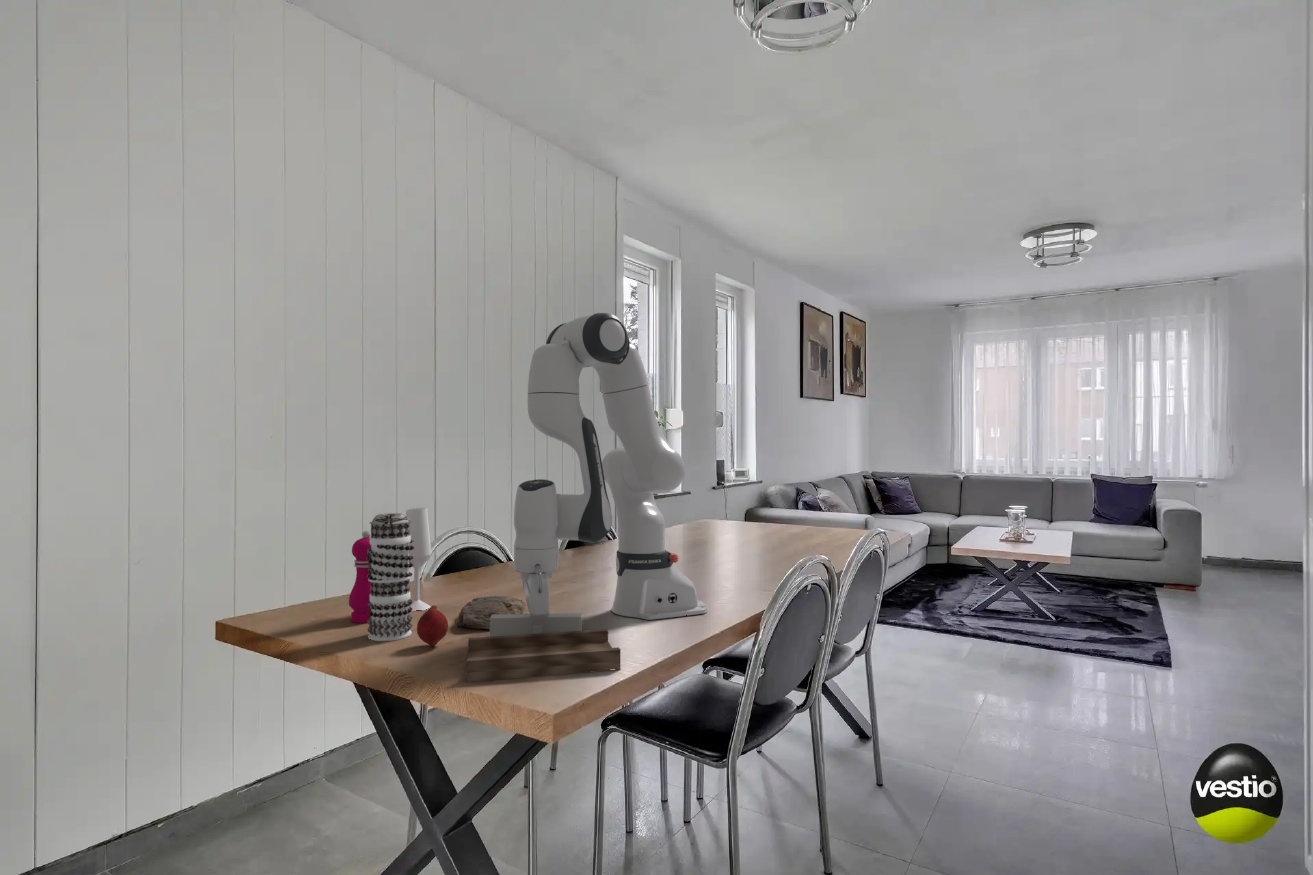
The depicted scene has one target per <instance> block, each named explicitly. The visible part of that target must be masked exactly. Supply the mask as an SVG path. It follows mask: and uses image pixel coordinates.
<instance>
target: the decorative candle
mask: <svg viewBox="0 0 1313 875" xmlns="http://www.w3.org/2000/svg"><path fill="white" fill-rule="evenodd" d="M410 522H411V521H410V520H408V519H407V517H406V514H403V513H399V512H398V513H396V512H395V513H393V512H391V513H379V514H377V515H375V516H374V518H373V519H372V520H371V521H370V522H369V524H370V533H371V536H370V537H369V538H370V544H371V547H370V548H368V549H367V551H366V552H367V553H368V555H369V556H368V557H367V558H366V560H367V561H368V562H369V563H371V565H369V566H368V568H367V570H368V571H369V575H367V578H368V581H370V582H371V594H370V603H369V604H368V607H369V608H371V609H370V610H369V611H368V614H369V616H371V617H370V619H369V620H368V621H367V623H366V624H368V627H367V631H368V633H369V634H368V636H367V638H368V640H370V639H371V640H370V641H373V640H374V642H392V641H397V640H398V641H399V640H402V639H406V638H408V636H409V637H410V636H411V635H412V634H413V632H412V627H413V624H412V623H411V622H412V621H413V616H412V615H411V614H410V613H411V612H413V611H412V608H411V607H410V606H409V605H411V603H412V601H413V599H412V600H411V590H410V585H411V584H410V583H411V582H410V580H411V579H412V578H413V573H412V572H410V569H411V568H413V567H412V566H413V564H412V563H411V562H409V561H410V560H411V559H413V556H411V555H409V551H410V550H413V549H414V547H413V546H412V545H409V543H412V542H414V541H413V540H411V535H410Z"/></svg>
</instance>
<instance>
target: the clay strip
mask: <svg viewBox="0 0 1313 875" xmlns="http://www.w3.org/2000/svg"><path fill="white" fill-rule="evenodd" d="M582 618H583V616H582V613H581V612H576V613H575V612H574V613H573V612H572V613H570V612H567V613H565V612H564V613H563V612H562V613H549V616H548V617H544V618H543V622H542V633H554V632H569V631H583V630H582V629H583V627H582V626H583V625H582V624H583V622H582ZM523 634H534V633H533V631H532V618H531V617H530V613H522V614H497V615H492V616H491V617H490V629H489V637H493V636H508V635H523Z"/></svg>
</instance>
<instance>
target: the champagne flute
mask: <svg viewBox="0 0 1313 875" xmlns="http://www.w3.org/2000/svg"><path fill="white" fill-rule="evenodd" d="M405 512H406V513H405V516H406V517H407V519H408V520H410V521H411V522H410V535H411V540H413V541H414V542H412V543H409V545H412V546H413V547H414V549H413V550H410V551H409V555H411V556H413V559H411V560H410V561H409V562H411V563H412V564H413V566H412V567H411V568H413V570H414V572H413V574H414V575H413V577H414V578H413V581H414V582H413V584H414V585H413V586H414V587H413V589H414V590H413V593H414V594H413V595H414V597H413V598H414V599H413V600H412V603H411V605H409V606H410V607H411V608H412V611H411V612H417V611H416V610H422V611H427V610H429V609H428V608H430V607H431V606H432V605H429V604H427V603H426V602H424V601H422V600H421V599H420V568H421V567H423V566H424V565H425V564H426V563H427V562H428V561H429V559H430V558H431V556H432V545H431V544H432V543H431V534H430V533H431V532H430V524H429V512H428V507H422V506H421V507H407V508H406V511H405ZM426 609H427V610H426Z"/></svg>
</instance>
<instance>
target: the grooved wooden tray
mask: <svg viewBox="0 0 1313 875" xmlns="http://www.w3.org/2000/svg"><path fill="white" fill-rule="evenodd" d="M467 641H468V642H467V644H468V651H467V652H468V653H467V658H466V683H472V682H473V683H474V682H484V681H495V680H496V681H497V680H511V679H520V678H521V679H522V678H523V679H524V678H534V677H547V676H560V675H573V674H584V673H585V672H586V673H592V672H591V671H598V672H605V671H604V670H610V669H620V670H621V648H620V647H619V646H618V647H612V645H611V644H610V642H609V630H608V628H603V629H602V628H601V629H600V628H599V629H588V630H587V629H585V630H582V631H569V632H554V633H538V634H523V635H508V636H493V637H490V636H482V637H469V638H468V640H467ZM586 673H585V674H586Z"/></svg>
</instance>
